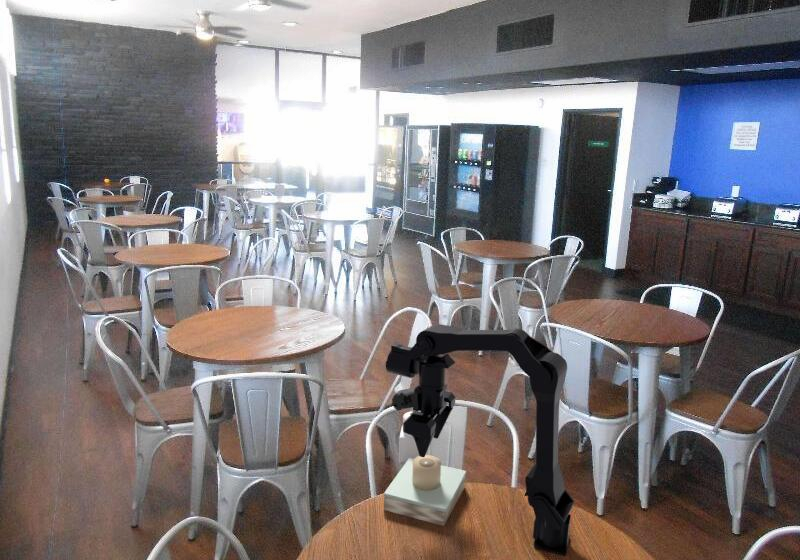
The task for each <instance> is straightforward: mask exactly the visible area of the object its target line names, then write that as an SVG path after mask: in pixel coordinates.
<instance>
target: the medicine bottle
mask: <svg viewBox="0 0 800 560" xmlns="http://www.w3.org/2000/svg"><path fill="white" fill-rule="evenodd" d="M412 414H417V415H423V413H421V412H420V411H413V410H411V411H408V412H406V413H404V414H403V416H402V425H401V429H400V433H399V439H398V442H399V443H398V462H399V464H405V463H406V462H407V460H408V459H409V458H413V459H415V458H416V457H418V456H419V452H418V449H417V446H416V443H415V440H414V437H413V436H412V435H409V434H407V433H404V432H403V423H404V422H405V420H406V419H407V418H408V417H409V416H410V415H412ZM426 455H429V450H428V451H427V453H426Z"/></svg>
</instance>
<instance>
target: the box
mask: <svg viewBox="0 0 800 560" xmlns="http://www.w3.org/2000/svg"><path fill="white" fill-rule="evenodd" d="M465 483H466V476H465V477H464V479H463V481H462V483H461V485H460V487H459V489H458V491H457V493H456V494H455V496H454V498H453V500H452V502H451V504H450V506H449V508H448V510H447V512H442V511H438V510H434V509H430V508H426V507H423V506H419V505H415V504H411V503H407V502H404V501H400V500H396V499H392V498H388V497H384V496H383V511H387V512H391V513H393V514H397V515H402V516H406V517H409V518H412V519H413V518H414V519H416V520H420V521H423V522H427V523H432V524H435V525H437V526H442V527H444V526H445V525H446V523H447V521H448V520H449V517H450V516H451V514H452V512H453V510H454V508H455V507H456V504H457V503H458V501H459V499H460V496H461V495H462V493H463V491H464V490H465V486H466V484H465Z"/></svg>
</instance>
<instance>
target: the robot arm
mask: <svg viewBox="0 0 800 560" xmlns="http://www.w3.org/2000/svg"><path fill="white" fill-rule="evenodd" d="M457 351H461V352H462V351H463V352H466V351H467V352H469V351H470V352H477V351H478V352H507V353H509V354H510V355H511V356H512V357H513V359H514V360H515V362H516V363H517V365H518V367H519V368H520V370H522V372H524V373H525V374H526V375H527V376H528V377H529V383H530V384H529V385H530V391H531V392H532V394H533V397H534V400H535V403H536V404H535V406H536V411H535V413H536V414H535V416H536V417H535V432H536V433H535V464H533V466H532V467H531V469H530V470H529V471H528V473H527V474H526V476H525V478H524V479H525V481H524V482H525V488H526V489H525V493H524V497H527V503H528V505H529V506H531V507H532V509H533V512H534V516H535V517H534V522H533V530H532V531H533V533H532V534H533V535H532V539H534V542H533V547H534V548H536V549H539V550H544V551H548V552H551V553H555V554H559V555H562V556H566V555H567V553H568V549H569V543H570V537H571V536H570V527H571V519H572V517H571V515H572V514H570V512H571V510H572V509H573V506H574V505H575V500H574V499H573V497H572V495H570V493H569V492H568V490H566V489H565V481H564V476H563V473H562V470H561V468H560V466H559V426H560V425H559V421H560V418H559V417H560V398H561V394H562V391H563V388H564V384H565V381H566V376H567V371H568V363H567V361H566V359H565V358H564V357H563V356H562V355H561V354H559V353H557V352H554V351H552V350H551V349H550V348H549V346H547V345H546V344H544V343H542V342H541V341H540V340H539V341H538V340H537V339H536V338H534V337H532V336H530V334H529V333H527V332H526V331H525V330H523V329H521V328H513V329H460V328H456V327H454V326H452V325H446V324H441V323H440V324H439V323H437V324H433V325H431V326H429V327H427V328H425V329H424V330H422V331H420V332H419V333H418V334H417V336H416V340H415V344H414V345H413V346H412V347H411V346H407V345H403V344H400V343H394V344H393V345H391V348H390V351H389V353H388V354H387V359H386V360H385V370H386V372H387V373H389V374H392V375H395V376H396V375H397V376H401V377H405V378H409V379H412V378H414V377H416V375H418V385H417V386H416V387H411V388H410V387H409V388H405V389H401V390H398V391H397V392H396V393H395V394H394V395H393V396H392V398H391V404H390V405H391V407H393V408H394V409H395V410H396V411H398V412H399V411H402V410H404V409H411V408H412V411H418V412H421V413H423V415H417V414H412V415H410V416H409V417H408V418H407V419H406V420H405V422H404V423H403V422H402V425H403V432H404V433H407V434H409V435H412V436H413V437H414V440H415V443H416V446H417V449H418V452H419V456H420V457H425V455H426V453H427V451H428V452H429V448H430V445H431V444H432V441H433V439H436V440H437V439H439V437H440V435H441V434H442V431H443V429H444V427H445V426H446V425H445V424H446V423H447V421H448V419H449V417H450V415H451V413H452V411H453V410H454V407H455V405H456V396H455V394H454V393H453V392H451V391H447V390H448V384H446V370H448V369H450V368H451V367H453V366H454V365H455V364H456V360H454V359H453V358H452V357H451V356H450V355H449V353H453V352H457ZM441 355H442V356H441Z"/></svg>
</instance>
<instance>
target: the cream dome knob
mask: <svg viewBox="0 0 800 560" xmlns="http://www.w3.org/2000/svg"><path fill="white" fill-rule="evenodd" d="M441 465H442V461H441V460H440V459H439V458H438V457H437V456H433V455H429V454H428V455H425V457H420V456H418V457H416V458H415V459H414V460H413V473H412V483H413V485H414V486H415V487H416V488H418V489H420V490H426V491H429V490H434V489H436V488H438V487H439V486H440V479H441Z"/></svg>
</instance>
